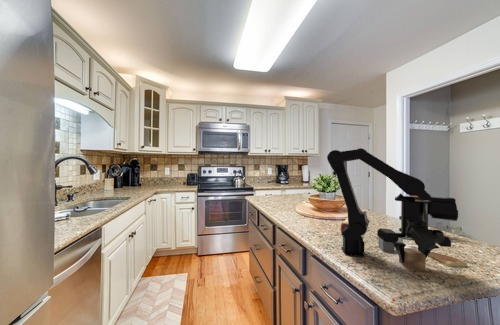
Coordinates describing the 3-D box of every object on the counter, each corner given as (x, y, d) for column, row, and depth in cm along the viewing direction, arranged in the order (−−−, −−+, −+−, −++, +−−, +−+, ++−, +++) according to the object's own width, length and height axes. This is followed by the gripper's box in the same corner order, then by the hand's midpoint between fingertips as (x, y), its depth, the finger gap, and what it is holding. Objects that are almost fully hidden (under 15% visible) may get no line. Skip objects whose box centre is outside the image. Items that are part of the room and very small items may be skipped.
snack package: (354, 238, 92) (355, 223, 92) (339, 234, 96) (339, 220, 96) (361, 226, 109) (362, 214, 109) (348, 224, 113) (348, 212, 113)
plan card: (407, 250, 78) (407, 248, 78) (400, 245, 83) (400, 243, 83) (428, 252, 77) (428, 250, 77) (419, 247, 82) (419, 245, 82)
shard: (419, 253, 77) (419, 248, 78) (439, 253, 77) (439, 249, 77) (446, 267, 67) (446, 262, 67) (470, 268, 67) (470, 263, 67)
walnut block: (407, 269, 64) (407, 253, 64) (399, 262, 69) (399, 247, 69) (425, 271, 63) (425, 255, 63) (415, 263, 68) (415, 248, 68)
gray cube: (382, 251, 78) (383, 241, 78) (378, 247, 82) (378, 237, 82) (394, 252, 77) (394, 241, 77) (389, 248, 81) (389, 238, 81)
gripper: (392, 220, 60) (392, 273, 60) (467, 224, 57) (466, 280, 57) (376, 211, 71) (376, 256, 71) (438, 215, 68) (437, 261, 68)
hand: (411, 263), depth 66 cm, fingers closed on walnut block, 5 cm apart
